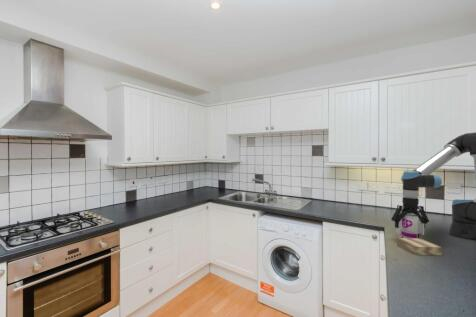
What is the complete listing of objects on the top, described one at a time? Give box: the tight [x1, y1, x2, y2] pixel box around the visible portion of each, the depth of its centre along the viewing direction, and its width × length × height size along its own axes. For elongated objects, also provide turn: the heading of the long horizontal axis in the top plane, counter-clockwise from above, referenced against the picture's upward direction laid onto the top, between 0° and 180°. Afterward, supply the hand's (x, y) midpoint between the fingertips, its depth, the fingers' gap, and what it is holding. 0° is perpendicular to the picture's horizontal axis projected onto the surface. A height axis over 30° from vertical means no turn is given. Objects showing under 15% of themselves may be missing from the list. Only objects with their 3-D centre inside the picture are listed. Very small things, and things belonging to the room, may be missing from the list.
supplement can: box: [400, 213, 420, 239], centre depth 134 cm, size 8×8×15 cm
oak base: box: [396, 237, 443, 256], centre depth 120 cm, size 13×13×4 cm
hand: (409, 234), depth 134 cm, fingers open, 13 cm apart
